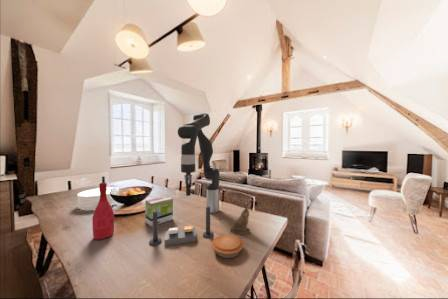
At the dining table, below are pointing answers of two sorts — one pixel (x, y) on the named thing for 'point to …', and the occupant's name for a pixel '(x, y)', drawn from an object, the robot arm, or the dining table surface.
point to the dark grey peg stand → (208, 224)
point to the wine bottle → (103, 216)
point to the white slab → (172, 230)
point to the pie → (227, 245)
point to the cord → (155, 230)
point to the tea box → (159, 209)
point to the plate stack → (92, 198)
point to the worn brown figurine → (241, 223)
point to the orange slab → (188, 228)
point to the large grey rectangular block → (180, 237)
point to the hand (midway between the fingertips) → (188, 195)
